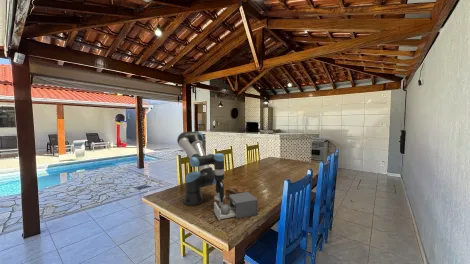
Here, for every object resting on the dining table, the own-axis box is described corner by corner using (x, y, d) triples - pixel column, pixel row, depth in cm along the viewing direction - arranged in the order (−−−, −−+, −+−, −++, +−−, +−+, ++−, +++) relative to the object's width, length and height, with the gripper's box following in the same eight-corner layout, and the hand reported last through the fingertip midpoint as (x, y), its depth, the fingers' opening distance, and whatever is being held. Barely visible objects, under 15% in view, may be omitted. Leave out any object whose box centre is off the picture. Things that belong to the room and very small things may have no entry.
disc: (213, 196, 148) (213, 194, 148) (223, 195, 151) (223, 193, 151) (215, 201, 141) (215, 198, 141) (226, 199, 143) (226, 197, 143)
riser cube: (215, 204, 148) (215, 197, 148) (222, 203, 150) (222, 196, 150) (217, 208, 142) (216, 200, 142) (224, 206, 144) (224, 199, 144)
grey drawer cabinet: (228, 208, 141) (228, 194, 140) (248, 205, 147) (248, 191, 146) (235, 218, 127) (235, 203, 126) (257, 214, 133) (257, 199, 132)
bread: (225, 198, 160) (225, 186, 159) (232, 194, 169) (232, 183, 168) (244, 203, 150) (244, 191, 149) (250, 198, 159) (250, 187, 158)
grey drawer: (214, 211, 136) (213, 201, 136) (234, 208, 141) (234, 198, 141) (218, 220, 124) (218, 209, 124) (240, 216, 130) (240, 205, 129)
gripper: (211, 171, 153) (212, 198, 155) (218, 178, 133) (218, 210, 135) (220, 170, 156) (220, 197, 157) (228, 177, 136) (228, 208, 138)
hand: (219, 203), depth 146 cm, fingers closed on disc, 8 cm apart
